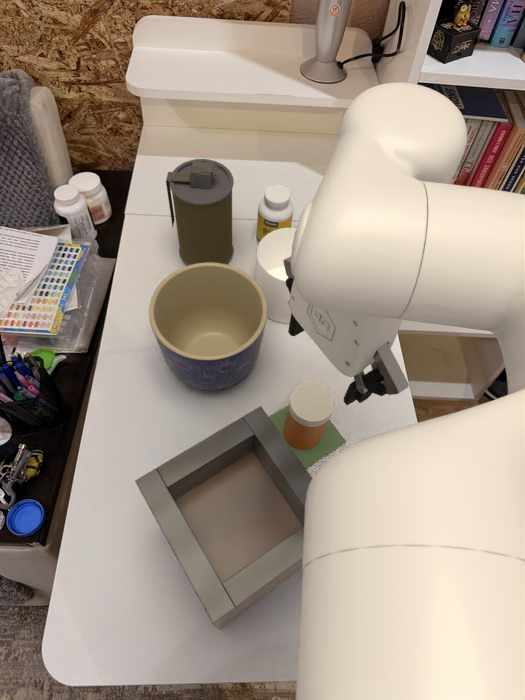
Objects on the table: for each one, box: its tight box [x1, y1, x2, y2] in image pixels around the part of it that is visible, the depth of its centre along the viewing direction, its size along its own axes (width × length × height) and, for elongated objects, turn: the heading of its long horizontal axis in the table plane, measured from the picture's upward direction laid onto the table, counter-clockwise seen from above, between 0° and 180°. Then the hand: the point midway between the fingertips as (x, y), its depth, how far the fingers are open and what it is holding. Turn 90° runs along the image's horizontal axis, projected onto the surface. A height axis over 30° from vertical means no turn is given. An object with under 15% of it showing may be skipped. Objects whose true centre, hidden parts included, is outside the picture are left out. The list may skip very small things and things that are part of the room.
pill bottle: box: [256, 183, 294, 243], centre depth 96 cm, size 6×6×12 cm
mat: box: [268, 404, 347, 470], centre depth 80 cm, size 10×10×1 cm
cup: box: [254, 227, 297, 324], centre depth 88 cm, size 12×12×12 cm
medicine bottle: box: [283, 380, 336, 450], centre depth 75 cm, size 6×6×12 cm
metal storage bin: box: [134, 405, 313, 630], centre depth 63 cm, size 16×16×22 cm
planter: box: [148, 262, 268, 391], centre depth 80 cm, size 17×17×15 cm
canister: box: [165, 158, 235, 267], centre depth 89 cm, size 11×10×20 cm
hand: (327, 361), depth 54 cm, fingers open, 9 cm apart
